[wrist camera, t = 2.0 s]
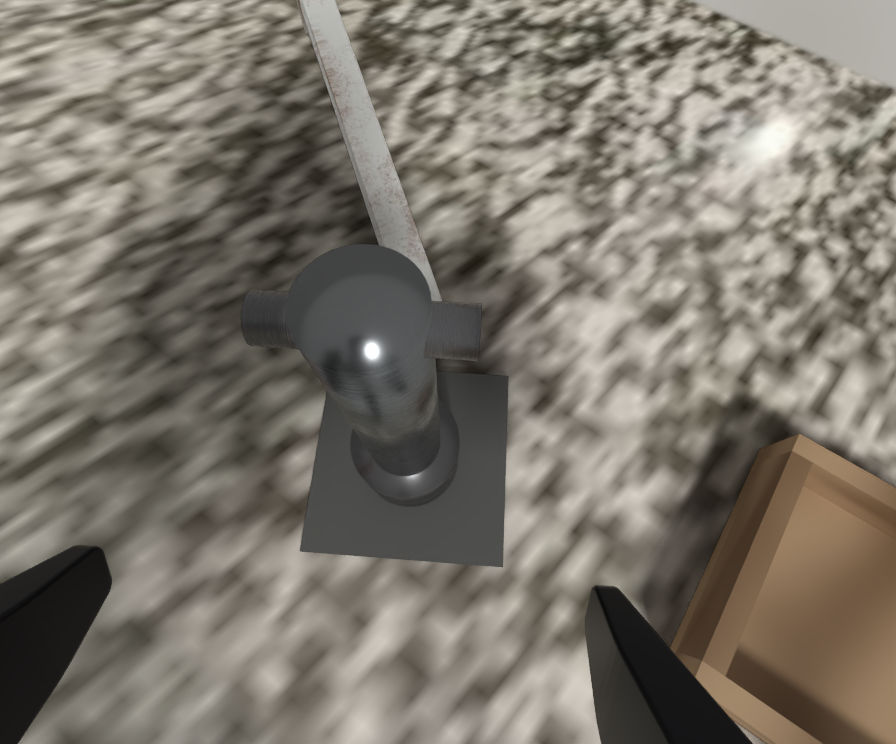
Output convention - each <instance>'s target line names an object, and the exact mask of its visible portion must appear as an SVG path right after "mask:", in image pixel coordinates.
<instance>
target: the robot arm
mask: <svg viewBox="0 0 896 744" xmlns="http://www.w3.org/2000/svg"><path fill="white" fill-rule="evenodd" d="M111 585H112V578H111V574H110V571H109V567H108V564H107V561H106V557H105V554H104V551H103V550H102V549H101V548H100V547H98V546H89V545H76V546H73V547H71V548H69V549H67V550H65V551H63V552H61V553H59V554H57V555H55V556H53V557H51V558H50V559H48V560H46V561H44V562H42V563H40V564H38V565H36V566H34V567H32V568H30V569H28V570H26V571H24V572H22V573H20V574H19V575H17V576H15V577H13V578H11V579H9V580H7V581H5V582H3V583H1V584H0V744H18V743H19V741H20V740H21V738H22V737H23V735H24V734H25V732H26V731H27V729H28V728H29V726H30V725H31V723H32V722H33V720H34V719H35V717H36V716H37V714H38V713H39V711H40V710H41V708H42V707H43V705H44V704H45V702H46V701H47V699H48V698H49V696H50V695H51V693H52V692H53V690H54V689H55V687H56V686H57V684H58V683H59V681H60V679H61V678H62V676H63V675H64V673H65V671H66V669H67V668H68V666H69V664H70V663H71V661H72V659H73V657H74V655H75V654H76V652H77V650H78V648H79V646H80V645H81V643H82V641H83V639H84V637H85V636H86V634H87V632H88V630H89V628H90V627H91V625H92V623H93V621H94V619H95V617H96V616H97V614H98V612H99V610H100V608H101V607H102V605H103V603H104V601H105V599H106V598H107V596H108V594H109V592H110V589H111ZM585 634H586V642H587V650H588V658H589V666H590V674H591V681H592V689H593V697H594V705H595V712H596V719H597V725H598V730H599V735H600V740H601V744H753V743H752V742H751V741H750V740H749V739H748V737H747V736H746V735H745V734H744V733H743V732H742V731H741V729H740V728H739V727H738V726H737V725H736V724H735V722H734V721H733V720H732V719H731V718H730V717H729V715H728V714H727V713H726V712H725V711H724V710H723V709H722V707H721V706H720V705H719V704H718V703H717V702H716V700H715V699H714V698H713V697H712V696H711V695H710V694H709V692H708V691H707V690H706V689H705V688H704V687H703V685H702V684H701V683H700V682H699V681H698V680H697V679H696V677H695V676H694V675H693V674H692V673H691V672H690V670H689V669H688V668H687V667H686V666H685V665H684V664H683V662H682V661H681V660H680V659H679V658H678V657H677V655H676V654H675V653H674V652H673V651H672V650H671V649H670V647H669V646H668V645H667V644H666V643H665V642H664V640H663V639H662V638H661V637H660V636H659V635H658V634H657V632H656V631H655V630H654V629H653V628H652V627H651V625H650V624H649V623H648V622H647V621H646V620H645V619H644V617H643V616H642V615H641V614H640V613H639V612H638V610H637V609H636V608H635V607H634V606H633V605H632V604H631V602H630V601H629V600H628V599H627V598H626V597H625V595H624V594H623V593H622V592H621V591H620V590H619V589H618V588H617V587H614V586H604V585H595V586H593V588H592V590H591V594H590V598H589V603H588V607H587V611H586V616H585Z"/></svg>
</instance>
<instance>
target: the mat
mask: <svg viewBox="0 0 896 744" xmlns="http://www.w3.org/2000/svg"><path fill="white" fill-rule="evenodd" d="M436 376H437V392H438V400H440V401H441V402H442V403H443V404H444V405H445V406H446V407H447V408H448V409H449V410H450V412H451V413H452V415H453V417H454V419H455V421H456V423H457V426H458V430H459V437H460V446H459V458H458V466H457V471H456V474H455V477H454V479H453V481H452V483H451V484H450V486H449V487H448V488H447V490H446V491H445V492H444V493H443V494H442V495H440V496H439V497H438V498H437V499H435V500H433V501H431V502H429V503H427V504H424V505H420V506H414V507H405V506H399V505H395V504H392V503H390V502H388V501H386V500H385V499H383V498H382V497H380V496H379V495H378V494H377V493H376V492H375V491H374V490H373V489H372V488H371V487H370V486H369V485H368V484H367V482H366V481H365V480H364V479H363V478H362V477H361V476H360V474H359V473H358V471H357V469H356V467H355V465H354V463H353V460H352V456H351V451H350V439H351V433H352V429H353V428H352V427H351V425H350V424H349V422H348V421H347V419H346V418H345V416H344V415H343V413H342V412H341V410H340V409H339V407H338V406H337V405H336V403H335V402H334V400H333V399H332V397H331V396H330V394H329V393H328V391H327V395H326V401H325V407H324V413H323V419H322V424H321V430H320V436H319V442H318V448H317V453H316V459H315V465H314V471H313V477H312V483H311V488H310V494H309V500H308V506H307V512H306V518H305V523H304V529H303V535H302V541H301V547H300V551H302V552H314V553H327V554H340V555H353V556H366V557H379V558H392V559H405V560H418V561H431V562H443V563H456V564H469V565H482V566H495V567H503V542H504V508H505V474H506V440H507V406H508V376H500V375H485V374H470V373H455V372H440V371H436Z"/></svg>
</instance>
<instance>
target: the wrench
mask: <svg viewBox="0 0 896 744" xmlns="http://www.w3.org/2000/svg"><path fill="white" fill-rule="evenodd" d="M297 4H298V7H299V11H300V14H301V18H302V22H303V25H304V29H305V32H306V34H309V37H310V39H311V42H312V45H313V47H314V50H315V53H316V56H317V59H318V62H319V65H320V68H321V71H322V74H323V77H324V80H325V83H326V86H327V89H328V92H329V95H330V99H331V102H332V105H333V108H334V111H335V114H336V117H337V120H338V123H339V126H340V129H341V132H342V135H343V138H344V141H345V144H346V147H347V150H348V153H349V156H350V159H351V162H352V165H353V168H354V171H355V174H356V177H357V180H358V183H359V186H360V189H361V192H362V195H363V198H364V201H365V205H366V208H367V211H368V214H369V217H370V220H371V223H372V226H373V229H374V232H375V235H376V238H377V241H378V244H379V246H383V247H387V248H390V249H393V250H395V251H397V252H399V253H401V254H403V255H404V256H406V257H407V258H409V259H410V260H411V261H412V262H413V263H414V264H415V265H416V266H417V267H418V268H419V269H420V270H421V272H422V273H423V275H424V277H425V278H426V281H427V283H428V285H429V289H430V292H431V299H432V301H442V298H441V295H440V293H439V290H438V287H437V284H436V281H435V278H434V276H433V273H432V270H431V267H430V264H429V262H428V259H427V256H426V253H425V250H424V248H423V245H422V242H421V239H420V236H419V234H418V231H417V228H416V225H415V222H414V220H413V217H412V214H411V211H410V208H409V206H408V203H407V200H406V197H405V194H404V192H403V189H402V186H401V183H400V180H399V178H398V175H397V172H396V169H395V166H394V164H393V161H392V158H391V155H390V152H389V150H388V147H387V144H386V141H385V138H384V136H383V133H382V130H381V127H380V124H379V122H378V119H377V116H376V113H375V110H374V108H373V105H372V102H371V99H370V96H369V94H368V91H367V88H366V85H365V82H364V80H363V77H362V74H361V71H360V68H359V66H358V63H357V60H356V57H355V54H354V52H353V49H352V46H351V43H350V40H349V38H348V35H347V32H346V29H345V26H344V23H343V21H342V18H341V15H340V12H339V9H338V7H337V4H336V1H335V0H297Z"/></svg>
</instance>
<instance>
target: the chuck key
mask: <svg viewBox="0 0 896 744" xmlns="http://www.w3.org/2000/svg"><path fill="white" fill-rule="evenodd" d="M481 315H482V304H477V303H462V302H446V301H432V299H431V292H430V289H429V285H428V283H427V281H426V278H425V277H424V275H423V273H422V272H421V270H420V269H419V268H418V267H417V266H416V265H415V264H414V263H413V262H412V261H411V260H410V259H409V258H407V257H406V256H404V255H403V254H401V253H399V252H397V251H395V250H393V249H390V248H387V247H383V246H379V245H372V244H355V245H348V246H344V247H340V248H337V249H334V250H331V251H329V252H327V253H325V254H323V255H321V256H320V257H318V258H316V259H315V260H314V261H312V262H311V263H310V264H309V265H308V266H307V267H306V268H304V269H303V271H302V272H301V273H300V274H299V275H298V277H297V278H296V280H295V282H294V283H293V285H292V287H291V289H290V292H287V291H271V290H255V289H253V290H250V291H249V292H248V293H247V295H246V296H245V299H244V301H243V305H242V311H241V328H242V333H243V336H244V339H245V341H246V342H247V344H248V345H250V346H256V347H271V348H287V349H299V350H300V351H301V353H302V354H303V356H304V357H305V359H306V360H307V362H308V363H309V365H310V366H311V368H312V369H313V371H314V372H315V374H316V375H317V377H318V378H319V379H320V381H321V382H322V384H323V385H324V387H325V388H326V390H327V391H328V393H329V394H330V396H331V397H332V399H333V400H334V402H335V403H336V405H337V406H338V407H339V409H340V410H341V412H342V413H343V415H344V416H345V418H346V419H347V421H348V422H349V424H350V425H351V427H352V428H353V429H352V433H351V439H350V451H351V456H352V460H353V463H354V465H355V467H356V469H357V471H358V473H359V474H360V476H361V477H362V478H363V479H364V480H365V481H366V482H367V484H368V485H369V486H370V487H371V488H372V489H373V490H374V491H375V492H376V493H377V494H378V495H379V496H380V497H382V498H383V499H385V500H386V501H388V502H390V503H392V504H395V505H399V506H405V507H414V506H420V505H424V504H427V503H429V502H431V501H433V500H435V499H437V498H438V497H439V496H440V495H442V494H443V493H444V492H445V491H446V490H447V488H448V487H449V486H450V484H451V483H452V481H453V479H454V477H455V474H456V471H457V466H458V458H459V446H460V437H459V430H458V426H457V423H456V421H455V419H454V417H453V415H452V413H451V412H450V410H449V409H448V408H447V407H446V406H445V405H444V404H443V403H442V402H441V401H440V400H438V392H437V376H436V360H435V358H437V359H452V360H467V361H478V356H479V345H480V332H481Z"/></svg>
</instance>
